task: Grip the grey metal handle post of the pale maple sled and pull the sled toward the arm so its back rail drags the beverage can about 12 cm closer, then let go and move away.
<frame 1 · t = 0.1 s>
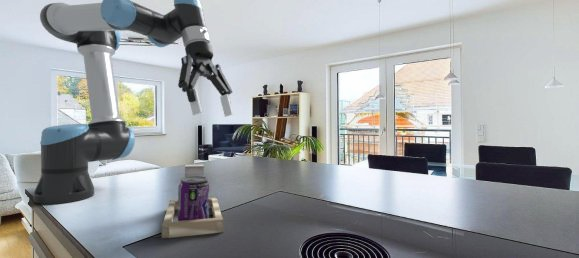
hand: (214, 114, 79), 28 cm above the kitchen island, tool tilted 20°, fingers open, 13 cm apart
beverage can: (193, 228, 67), resting in can sled
can sled: (194, 195, 72), point 7 cm above the kitchen island, slide at 0.0 cm
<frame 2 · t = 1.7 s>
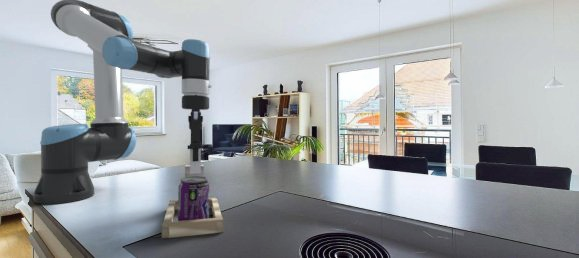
hand: (195, 169, 80), 12 cm above the kitchen island, tool pointing down, fingers open, 13 cm apart
nothing on the kitchen island moved.
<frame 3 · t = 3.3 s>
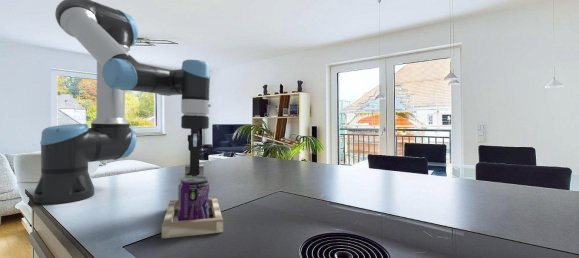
hand: (193, 195, 80), 4 cm above the kitchen island, tool pointing down, fingers closed on can sled, 3 cm apart
can sled: (194, 195, 72), point 7 cm above the kitchen island, slide at 0.0 cm, touching gripper
everything else where it was.
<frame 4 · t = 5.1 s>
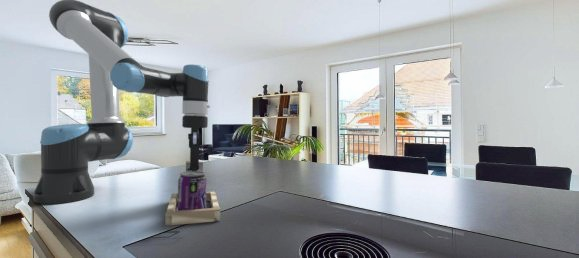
hand: (194, 189, 87), 4 cm above the kitchen island, tool pointing down, fingers closed on can sled, 3 cm apart
beverage can: (191, 218, 74), resting in can sled
can sled: (194, 188, 79), point 7 cm above the kitchen island, slide at 7.5 cm, touching beverage can, gripper
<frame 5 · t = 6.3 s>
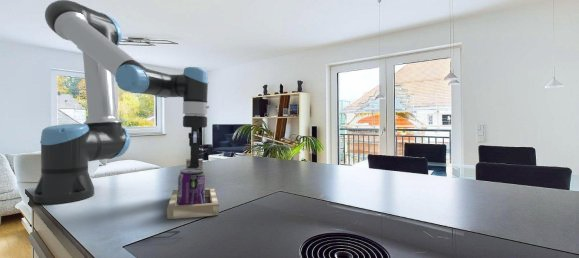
hand: (194, 186, 91), 4 cm above the kitchen island, tool pointing down, fingers closed on can sled, 3 cm apart
beverage can: (191, 213, 78), resting in can sled
can sled: (194, 184, 83), point 7 cm above the kitchen island, slide at 11.9 cm, touching beverage can, gripper
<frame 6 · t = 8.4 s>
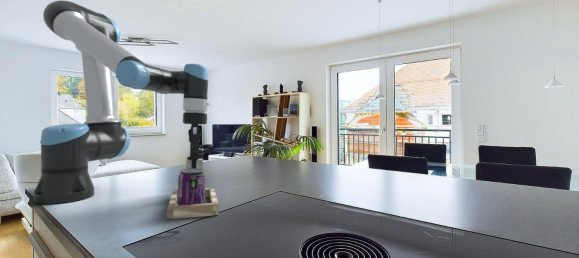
hand: (193, 176, 91), 7 cm above the kitchen island, tool pointing down, fingers open, 13 cm apart
beverage can: (191, 213, 78), resting in can sled
can sled: (194, 184, 83), point 7 cm above the kitchen island, slide at 12.0 cm
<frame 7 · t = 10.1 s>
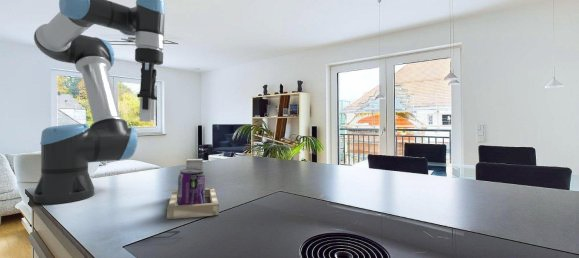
hand: (147, 120, 84), 25 cm above the kitchen island, tool pointing down, fingers open, 13 cm apart
nothing on the kitchen island moved.
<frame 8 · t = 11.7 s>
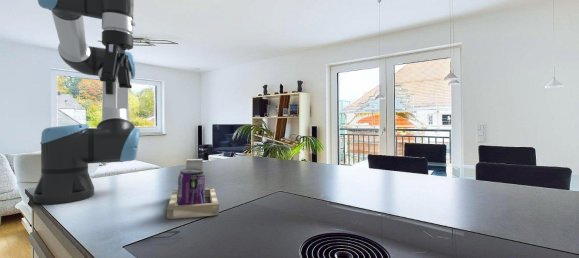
hand: (117, 108, 78), 29 cm above the kitchen island, tool pointing down, fingers open, 13 cm apart
nothing on the kitchen island moved.
at the end: beverage can inside the target area (0.9 cm from its centre), resting in can sled; beverage can tilted 0°; can sled slide at 12.0 cm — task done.
